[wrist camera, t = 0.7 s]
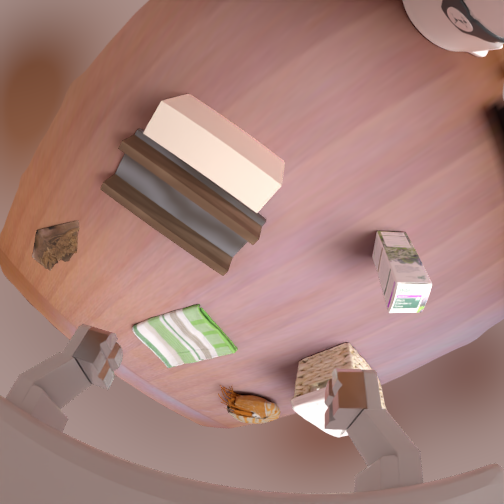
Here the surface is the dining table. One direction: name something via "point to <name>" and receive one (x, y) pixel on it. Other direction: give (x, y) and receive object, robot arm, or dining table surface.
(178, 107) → the white rectangular block
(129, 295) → the dining table surface
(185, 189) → the slot rack
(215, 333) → the dish towel
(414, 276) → the syrup box
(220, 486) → the robot arm
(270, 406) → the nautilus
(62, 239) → the wooden fragment
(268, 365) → the dining table surface
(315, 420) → the storage basket
